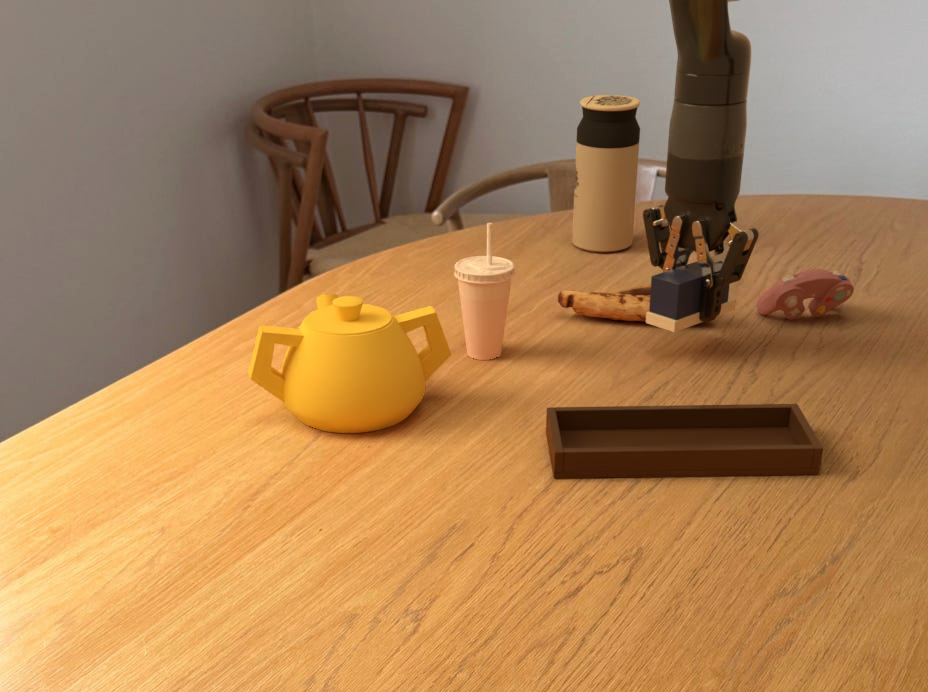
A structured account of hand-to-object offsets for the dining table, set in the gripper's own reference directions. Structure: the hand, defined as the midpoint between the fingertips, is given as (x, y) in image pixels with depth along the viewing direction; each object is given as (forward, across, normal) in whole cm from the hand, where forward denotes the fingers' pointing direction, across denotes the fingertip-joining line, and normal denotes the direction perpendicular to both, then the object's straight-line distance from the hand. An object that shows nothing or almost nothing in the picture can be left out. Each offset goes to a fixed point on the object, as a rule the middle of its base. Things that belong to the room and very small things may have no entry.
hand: (690, 313), depth 135 cm
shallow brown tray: (+4, -16, +21) cm, 27 cm away
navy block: (0, 0, 0) cm, 0 cm away
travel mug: (+4, +32, -20) cm, 38 cm away
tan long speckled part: (+4, +10, -3) cm, 12 cm away
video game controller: (+4, -2, -17) cm, 18 cm away
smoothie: (+4, +14, +18) cm, 23 cm away
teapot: (+4, +13, +36) cm, 39 cm away
